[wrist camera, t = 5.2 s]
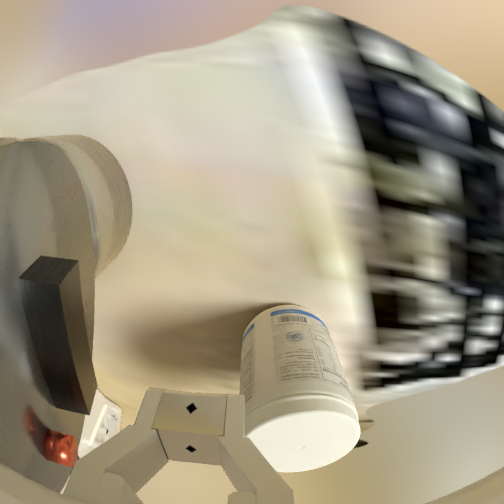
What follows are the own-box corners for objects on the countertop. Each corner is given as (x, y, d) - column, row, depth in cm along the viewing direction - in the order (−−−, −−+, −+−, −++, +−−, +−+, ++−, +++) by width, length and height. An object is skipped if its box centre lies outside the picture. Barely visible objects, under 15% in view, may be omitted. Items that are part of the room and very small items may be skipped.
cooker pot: (134, 325, 32) (97, 391, 22) (32, 296, 31) (-16, 342, 21) (142, 134, 25) (79, 136, 14) (24, 132, 24) (-48, 142, 14)
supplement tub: (277, 379, 35) (285, 482, 21) (224, 333, 32) (208, 446, 18) (343, 337, 32) (381, 441, 19) (294, 282, 30) (321, 393, 16)
